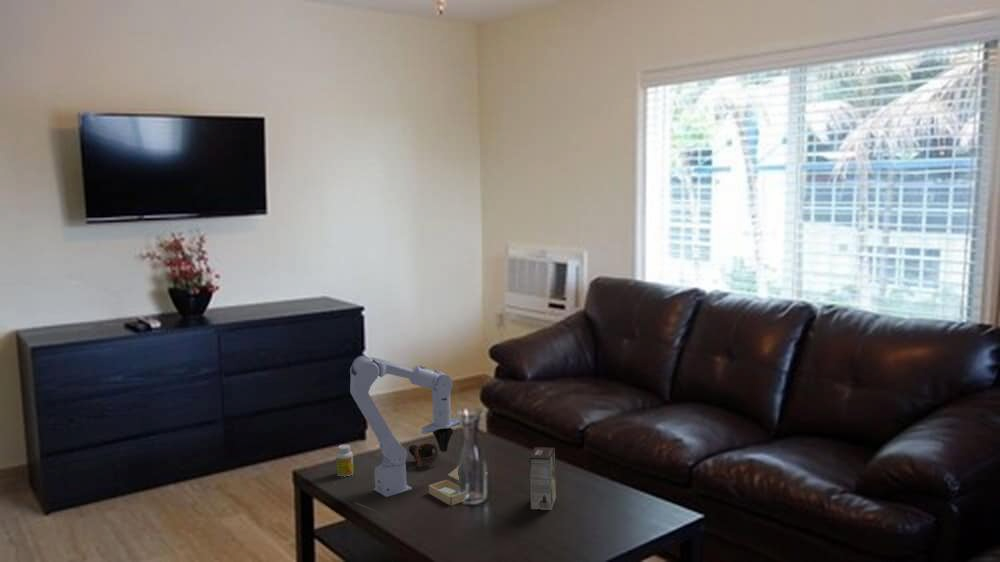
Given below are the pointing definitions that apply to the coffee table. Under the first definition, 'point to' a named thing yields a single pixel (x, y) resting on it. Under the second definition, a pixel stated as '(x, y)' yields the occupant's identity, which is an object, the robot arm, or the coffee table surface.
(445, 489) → the soap
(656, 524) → the coffee table surface
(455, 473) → the lid
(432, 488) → the mailer box
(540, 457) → the coffee box
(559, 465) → the coffee table surface
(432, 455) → the pottery mug
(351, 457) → the supplement bottle
